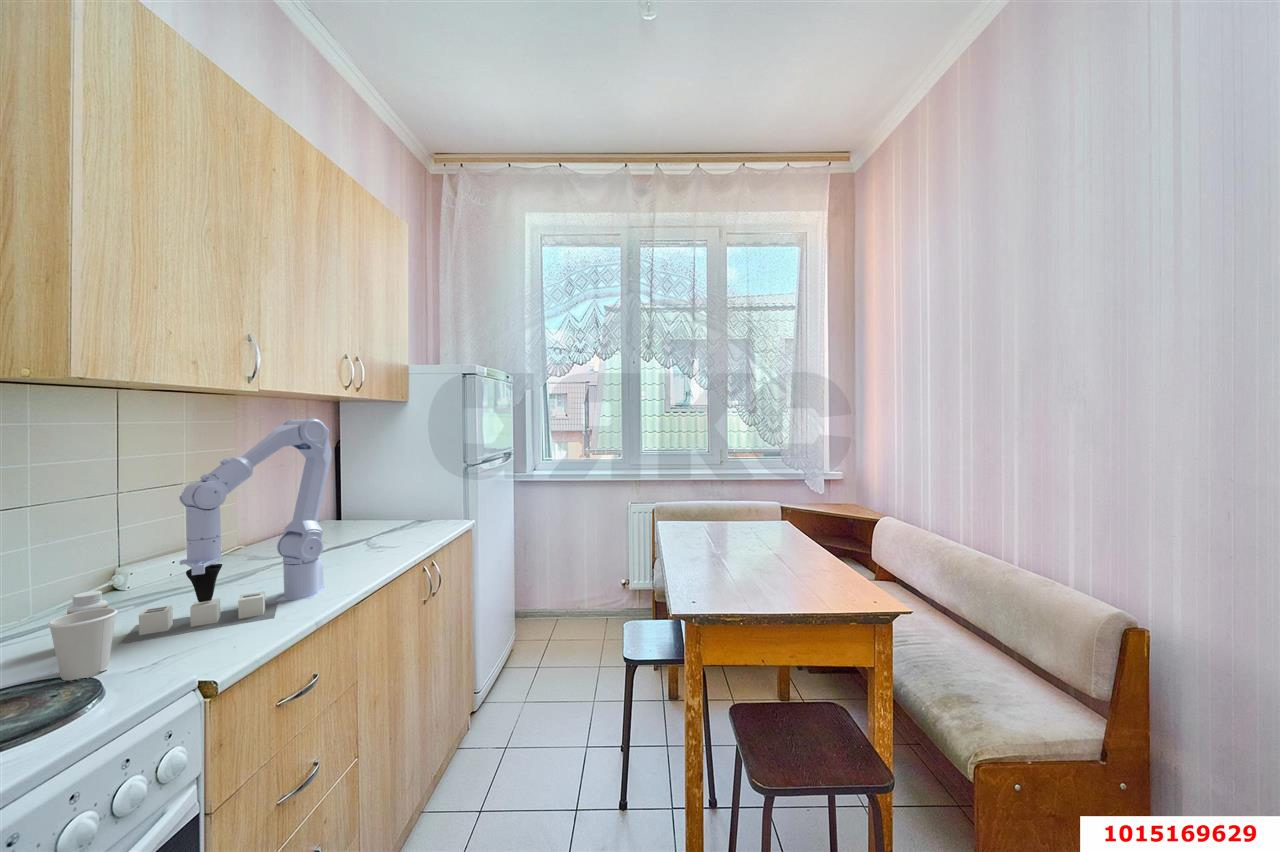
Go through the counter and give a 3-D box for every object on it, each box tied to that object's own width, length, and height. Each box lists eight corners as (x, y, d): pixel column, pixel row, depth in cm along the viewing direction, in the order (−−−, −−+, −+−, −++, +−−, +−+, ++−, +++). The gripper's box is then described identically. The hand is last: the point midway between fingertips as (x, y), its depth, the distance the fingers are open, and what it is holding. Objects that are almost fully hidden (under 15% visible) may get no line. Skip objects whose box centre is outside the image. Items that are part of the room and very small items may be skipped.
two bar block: (145, 628, 112) (144, 608, 112) (172, 623, 114) (172, 604, 114) (139, 635, 108) (138, 614, 108) (167, 630, 110) (167, 610, 110)
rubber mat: (278, 605, 127) (277, 602, 127) (274, 620, 116) (274, 617, 116) (136, 627, 114) (136, 625, 114) (118, 647, 104) (118, 644, 104)
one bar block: (241, 613, 120) (240, 594, 120) (265, 609, 122) (264, 591, 122) (238, 618, 116) (238, 600, 116) (263, 614, 119) (262, 596, 119)
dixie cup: (91, 662, 97) (90, 607, 97) (132, 663, 96) (130, 608, 96) (34, 684, 89) (32, 624, 89) (78, 686, 88) (76, 625, 88)
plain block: (194, 620, 116) (194, 601, 116) (220, 616, 118) (220, 598, 118) (190, 626, 112) (190, 607, 112) (217, 622, 114) (216, 603, 114)
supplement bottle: (63, 654, 101) (62, 600, 101) (73, 644, 106) (71, 592, 106) (104, 647, 104) (103, 594, 104) (112, 637, 109) (110, 587, 109)
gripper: (187, 534, 119) (188, 595, 119) (171, 546, 107) (173, 614, 107) (226, 530, 123) (228, 589, 123) (216, 541, 110) (217, 607, 110)
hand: (205, 600), depth 115 cm, fingers closed
